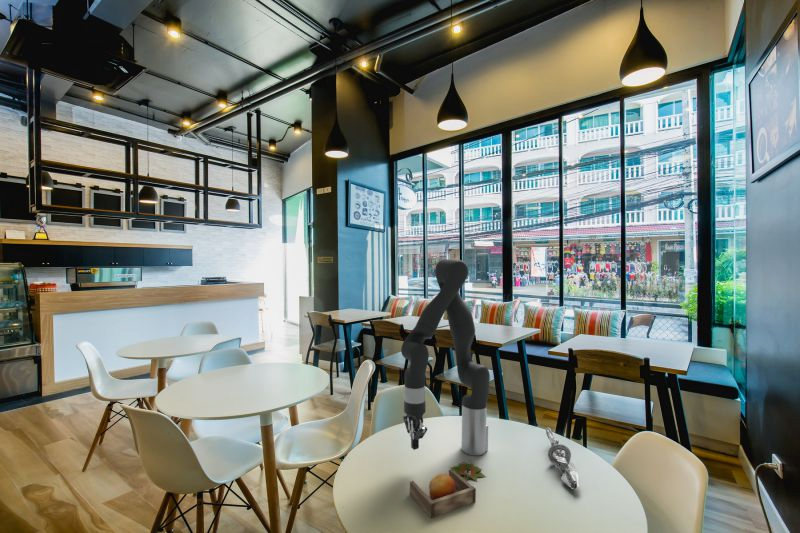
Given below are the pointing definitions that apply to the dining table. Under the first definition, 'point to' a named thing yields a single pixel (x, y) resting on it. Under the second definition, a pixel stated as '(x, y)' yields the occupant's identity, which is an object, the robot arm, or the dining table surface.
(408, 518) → the dining table surface
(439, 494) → the fruit
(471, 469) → the lily flower
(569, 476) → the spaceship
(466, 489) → the brown wooden u-shaped frame
